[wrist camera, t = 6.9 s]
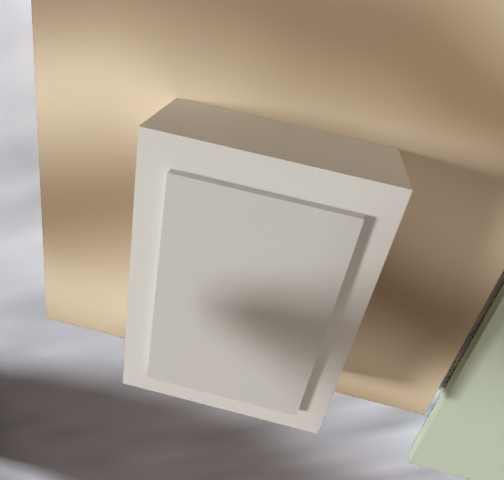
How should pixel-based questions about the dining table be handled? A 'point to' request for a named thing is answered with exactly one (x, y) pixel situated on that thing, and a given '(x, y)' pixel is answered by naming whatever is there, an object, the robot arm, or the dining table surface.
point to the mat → (470, 409)
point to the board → (293, 112)
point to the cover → (254, 258)
